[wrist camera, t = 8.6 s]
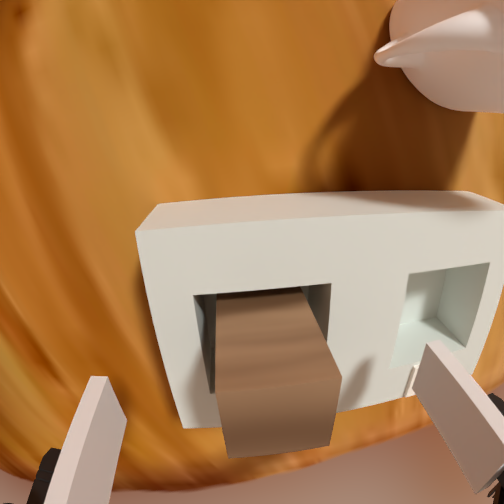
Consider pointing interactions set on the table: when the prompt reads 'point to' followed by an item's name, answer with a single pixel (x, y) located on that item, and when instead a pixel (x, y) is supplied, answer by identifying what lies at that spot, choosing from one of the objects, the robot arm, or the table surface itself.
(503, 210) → the socket board
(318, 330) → the plug
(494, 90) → the mug
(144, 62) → the table surface
